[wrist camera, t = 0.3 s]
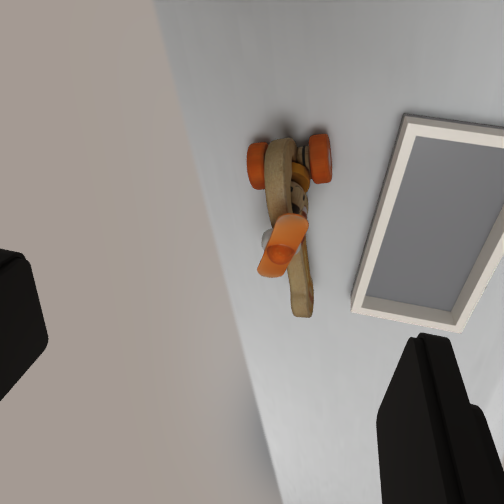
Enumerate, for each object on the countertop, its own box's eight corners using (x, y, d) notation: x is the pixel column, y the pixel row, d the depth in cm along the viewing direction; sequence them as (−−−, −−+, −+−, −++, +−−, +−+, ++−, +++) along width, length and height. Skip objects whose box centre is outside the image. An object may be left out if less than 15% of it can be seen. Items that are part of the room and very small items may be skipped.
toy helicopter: (328, 116, 41) (321, 165, 29) (342, 281, 51) (341, 364, 40) (250, 127, 43) (215, 177, 32) (279, 283, 53) (261, 362, 42)
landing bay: (403, 113, 39) (408, 123, 36) (545, 132, 38) (561, 144, 35) (350, 294, 52) (350, 312, 49) (454, 314, 50) (461, 333, 48)
